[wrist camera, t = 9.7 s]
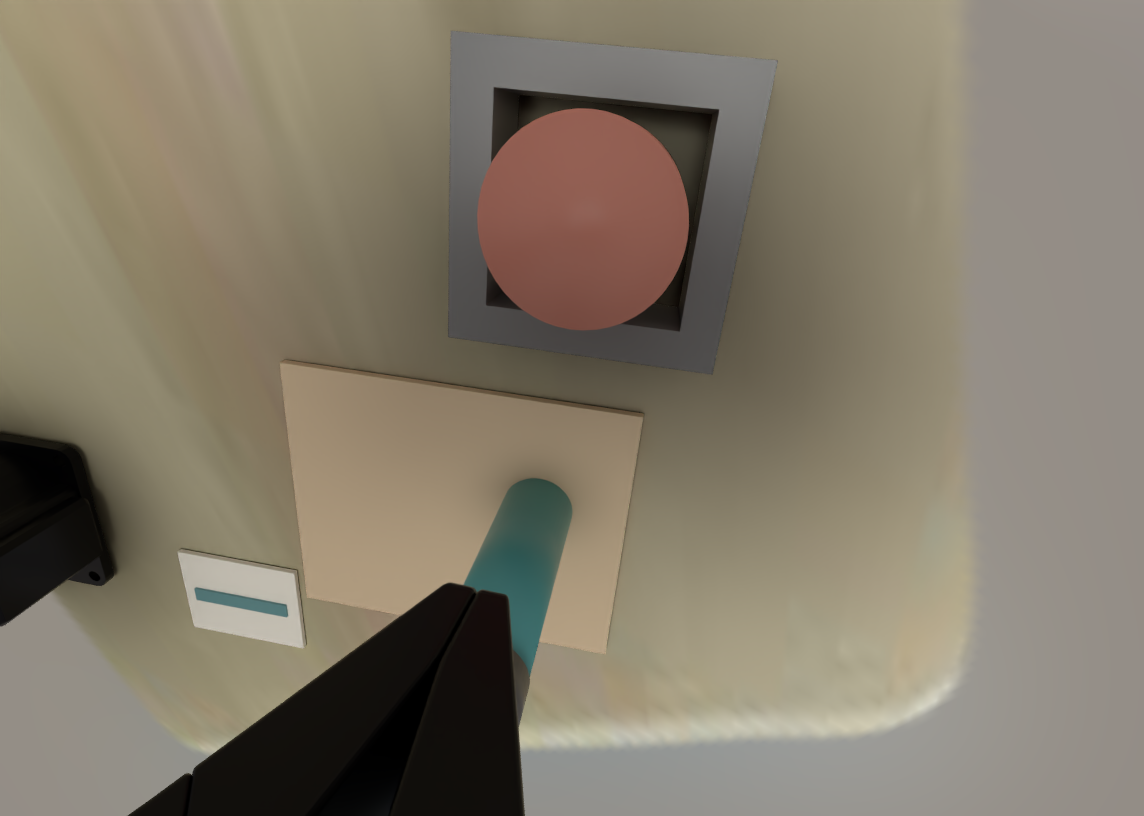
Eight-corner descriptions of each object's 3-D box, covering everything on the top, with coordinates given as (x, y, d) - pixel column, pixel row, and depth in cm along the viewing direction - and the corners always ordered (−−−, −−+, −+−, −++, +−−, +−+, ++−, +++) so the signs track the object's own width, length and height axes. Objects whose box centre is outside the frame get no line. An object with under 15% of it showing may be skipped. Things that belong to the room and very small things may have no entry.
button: (502, 290, 16) (474, 316, 13) (511, 104, 14) (480, 97, 12) (669, 313, 15) (669, 343, 13) (702, 123, 13) (707, 120, 11)
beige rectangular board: (311, 592, 24) (307, 597, 24) (284, 359, 20) (279, 362, 20) (605, 648, 23) (605, 654, 23) (643, 413, 19) (643, 417, 18)
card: (197, 623, 26) (192, 628, 26) (180, 548, 24) (175, 553, 24) (306, 644, 25) (302, 650, 25) (297, 570, 24) (292, 575, 23)
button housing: (476, 312, 18) (448, 337, 16) (483, 47, 15) (450, 30, 13) (707, 344, 18) (712, 374, 15) (761, 72, 15) (777, 60, 12)
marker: (500, 532, 21) (407, 744, 14) (504, 471, 20) (406, 664, 13) (569, 544, 21) (514, 767, 13) (577, 483, 20) (521, 687, 12)
